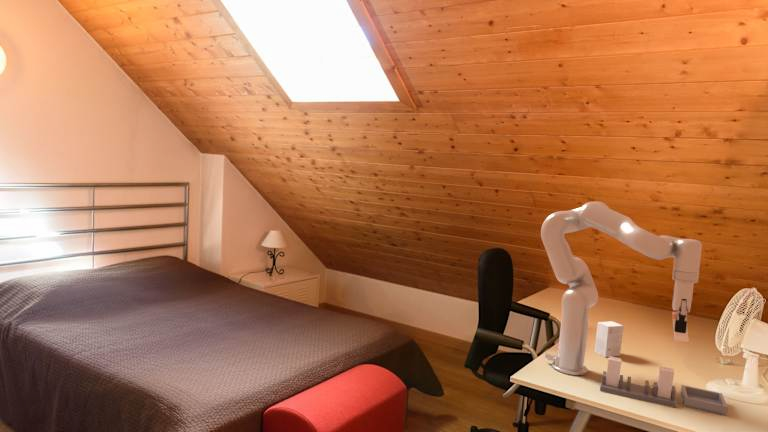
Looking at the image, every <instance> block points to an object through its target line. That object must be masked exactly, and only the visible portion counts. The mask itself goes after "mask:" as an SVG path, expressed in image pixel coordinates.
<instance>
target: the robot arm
mask: <svg viewBox="0 0 768 432" xmlns="http://www.w3.org/2000/svg"><path fill="white" fill-rule="evenodd" d="M589 228H594V229H596V230H597V231H600V232H602V233H603V234H605V235H608V236H610V237H613V238H614V239H617V240H618V241H619V242H620V243H622V244H624V245H626V246H627V247H629V248H630V249H633V250H634V251H637V252H638V253H640V254H642V255H644V256H646V257H648V258H651V259H654V260H660V261H661V260H664V259H666V258H673V266H672V267H673V269H672V277H671V279H672V280H673V281H674V286H673V294H672V302H671V303H672V304H671V307H672V308H671V309H672V310H673V312H677V320H676V322H675V332H679V333H686V326H688V313H690V312H691V308H692V301H693V293H694V286H695V285H694V284H698V283H699V279H700V277H699V275H700V265H701V256H702V249H703V245H702V242H701V241H700V240H697V239H692V238H679V237H676V236H675V237H674V236H672V235H665V234H663V235H657V234H654V233H652V232H650V231H648V230H646V229H644V228H642V227H640V226H639V225H637V224H636V223H635V222H634V221H633V220H632V218H630V217H629V216H627V215H626V214H625V215H624V214H622V213H620V212H618V211H615V209H614V210H613V209H611V208H609V206H608V205H607V204H606V203H605V202H602V201H589V202H588V201H587V202H585V203H584V204H583V205H582V206H580V207H577V208H574V209H569V210H559V211H555V212H553V213H551V214H550V215H548V216H547V217H546V218H545V219H544V221H543V222H542V225H541V229H540V237H541V238H540V239H541V241H542V243H543V246H544V248H545V251H546V254H547V258H548V260H549V263H550V265H551V268H552V271H553V273H554V275H555V277H556V280H557V281H558V282H560V283H561V284H564V285H568V286H569V288H568V289H566V290H565V291H564V293H563V295H562V297H561V321H560V322H561V323H560V330H559V339H558V348H557V352H556V353H553V354H552V353H548V352H545V355H544V358H545V359H547V360H548V361H552V364H551V367H552V368H553V369H554V370H556V371H558V372H560V373H562V374H566V375H572V376H583V375H587V373H588V368H587V367H586V366H585V364H584V363H585V355H586V349H587V348H586V346H587V340H588V339H587V338H588V330H589V309H591V308H592V307H594V306H595V305H596V304H597V303H598V300H599V292H598V290H597V287H596V285H595V281H594V279H593V277H592V274H591V271H590V269H589V267H588V265H587V263H586V262H585V261H584V260H583V259H582V258H580V257H577V256H574V254H573V253H572V251H571V247H570V244H569V243H568V241H567V240H566V238H565V234H569V233H575V232H578V231H581V230H584V229H589ZM679 313H681V314H679ZM686 320H687V321H686Z"/></svg>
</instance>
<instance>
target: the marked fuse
mask: <svg viewBox="0 0 768 432" xmlns="http://www.w3.org/2000/svg"><path fill="white" fill-rule="evenodd" d="M679 314H681V313H679ZM676 320H677V312H676V311H672V325H673V326H672V327H673V338H674V342H688V343H689V341H690V340H689V328H688V326H689V325H687V326H686V333H679V332H675V322H676ZM686 321H687V322H688V319H687V320H686Z"/></svg>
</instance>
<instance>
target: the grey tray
mask: <svg viewBox="0 0 768 432" xmlns="http://www.w3.org/2000/svg"><path fill="white" fill-rule="evenodd" d="M680 396H681V401H682V404H683V405H682V406H683V407H686V408H690V409H695V410H698V411H702V412H707V413H712V414H717V415H721V416H724V415H726V416H727V412H728V405H727V402H726V400H725V398H724V395H723V393H722V392H717V391H712V390H707V389H703V388H698V387H693V386H689V385H685V384H681V387H680Z"/></svg>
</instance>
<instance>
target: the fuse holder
mask: <svg viewBox="0 0 768 432" xmlns="http://www.w3.org/2000/svg"><path fill="white" fill-rule="evenodd" d="M621 366H622V358H620V357H618V356H614V357H612V356H609V357H608V361H607V369H606V371H604V370H603V372H602V376H601V380H600V387H599V391H600V392H603V393H604V392H605V393H608V394H614V395H618V396H622V397H626V398H630V399H634V400H640V401H644V402H649V403H652V404H658V405H662V406H665V407H670V408H677V399H676V394H677V391H676V387H675V385H673V383H674V376H675V371H674V368H670V367H665V366H661V365H660V366H659V369H658V378H657V382H655V381H653V385H652V387H651V386H650V382H649V381H650V380H648V379H645V380H644V382H645V384H644V385H643V384H642V385H641V384H638V383H637V384H636V383H632V377H631V376H627V380H626V381H625V380H624V375H623V374H621Z"/></svg>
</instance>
